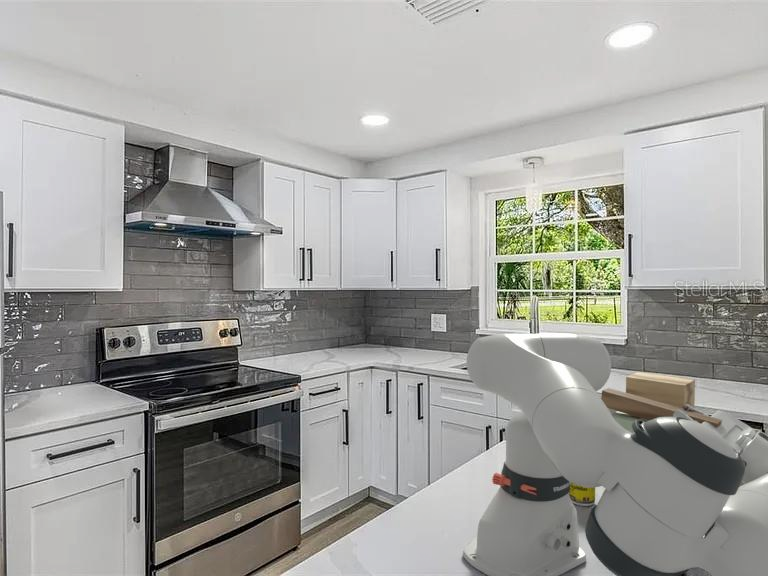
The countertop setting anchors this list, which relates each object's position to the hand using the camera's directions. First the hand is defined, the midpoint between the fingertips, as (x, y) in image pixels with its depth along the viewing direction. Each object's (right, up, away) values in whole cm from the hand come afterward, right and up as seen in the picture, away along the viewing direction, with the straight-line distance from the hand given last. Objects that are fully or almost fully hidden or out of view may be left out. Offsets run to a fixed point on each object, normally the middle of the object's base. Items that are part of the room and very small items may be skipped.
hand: (679, 409), depth 101 cm
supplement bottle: (-17, -22, +8) cm, 29 cm away
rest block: (-6, -22, +6) cm, 24 cm away
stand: (+3, -22, +13) cm, 26 cm away
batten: (-3, -3, +3) cm, 5 cm away
